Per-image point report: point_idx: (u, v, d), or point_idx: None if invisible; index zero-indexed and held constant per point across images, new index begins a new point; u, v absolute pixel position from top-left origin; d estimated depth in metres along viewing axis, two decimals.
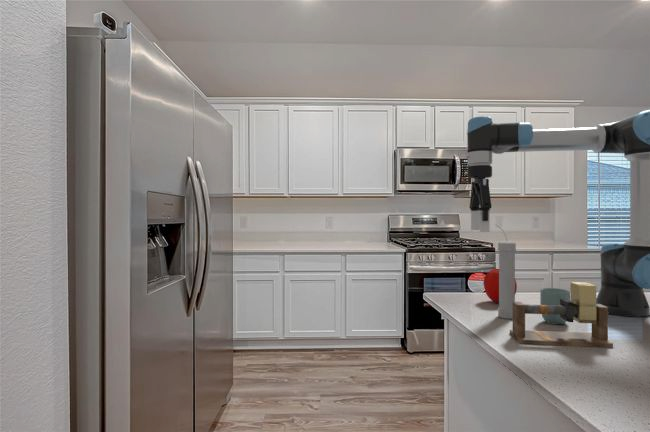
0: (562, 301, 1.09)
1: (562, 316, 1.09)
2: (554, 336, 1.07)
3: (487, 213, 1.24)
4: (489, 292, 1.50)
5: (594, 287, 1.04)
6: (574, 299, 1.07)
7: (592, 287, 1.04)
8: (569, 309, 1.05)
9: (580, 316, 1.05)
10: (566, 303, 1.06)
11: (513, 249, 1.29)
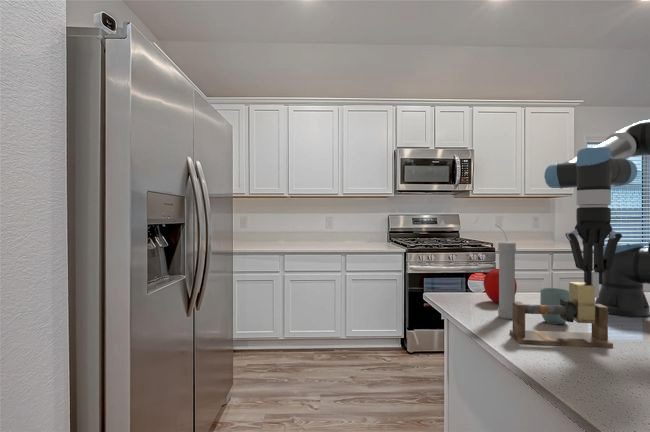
0: (562, 301, 1.09)
1: (562, 316, 1.09)
2: (554, 336, 1.07)
3: (586, 275, 1.06)
4: (489, 292, 1.50)
5: (592, 287, 1.04)
6: (573, 299, 1.07)
7: (590, 287, 1.04)
8: (569, 309, 1.05)
9: (579, 316, 1.05)
10: (566, 303, 1.06)
11: (513, 249, 1.29)
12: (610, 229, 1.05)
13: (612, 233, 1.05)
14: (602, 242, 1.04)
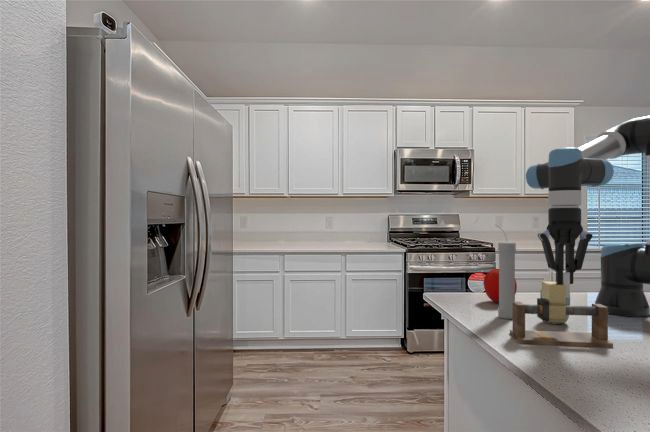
0: (539, 300, 1.10)
1: (539, 315, 1.10)
2: (554, 336, 1.07)
3: (557, 275, 1.07)
4: (489, 292, 1.50)
5: (563, 286, 1.05)
6: (545, 298, 1.09)
7: (561, 286, 1.05)
8: (545, 308, 1.06)
9: (550, 315, 1.06)
10: (542, 302, 1.07)
11: (513, 249, 1.29)
12: (581, 229, 1.06)
13: (583, 233, 1.06)
14: (573, 242, 1.06)
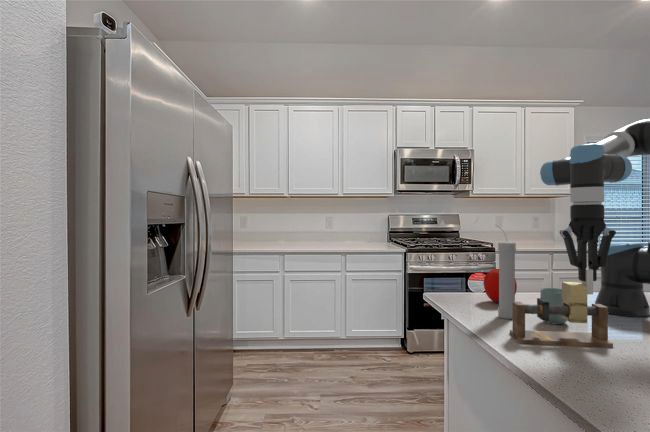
0: (539, 300, 1.10)
1: (539, 315, 1.10)
2: (554, 336, 1.07)
3: (580, 272, 1.07)
4: (489, 292, 1.50)
5: (585, 287, 1.04)
6: (565, 299, 1.08)
7: (583, 287, 1.04)
8: (545, 308, 1.06)
9: (571, 316, 1.05)
10: (542, 302, 1.07)
11: (513, 249, 1.29)
12: (604, 226, 1.05)
13: (606, 230, 1.06)
14: (596, 239, 1.05)
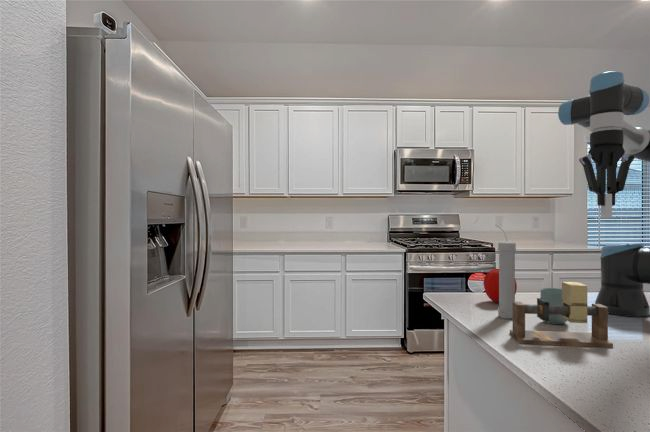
0: (539, 300, 1.10)
1: (539, 315, 1.10)
2: (554, 336, 1.07)
3: (599, 197, 1.10)
4: (489, 292, 1.50)
5: (585, 287, 1.04)
6: (565, 299, 1.08)
7: (583, 287, 1.04)
8: (545, 308, 1.06)
9: (571, 316, 1.05)
10: (542, 302, 1.07)
11: (513, 249, 1.29)
12: (623, 152, 1.09)
13: (624, 156, 1.09)
14: (615, 164, 1.08)
